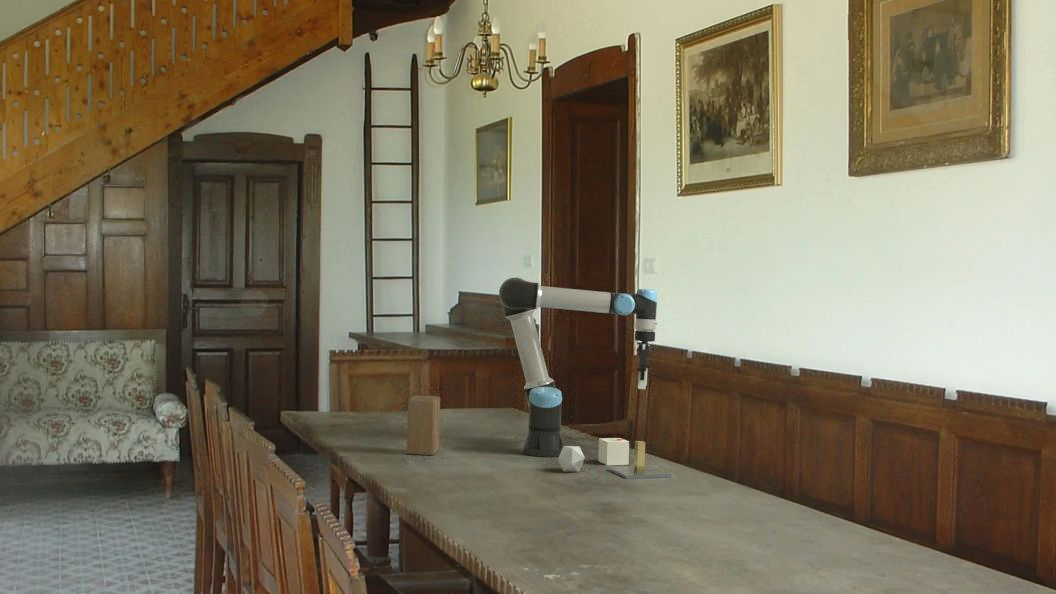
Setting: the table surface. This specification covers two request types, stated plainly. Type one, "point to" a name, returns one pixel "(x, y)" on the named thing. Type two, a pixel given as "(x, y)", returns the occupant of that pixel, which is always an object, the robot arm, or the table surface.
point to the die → (571, 458)
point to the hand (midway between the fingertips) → (642, 387)
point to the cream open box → (613, 451)
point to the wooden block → (423, 425)
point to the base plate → (639, 466)
